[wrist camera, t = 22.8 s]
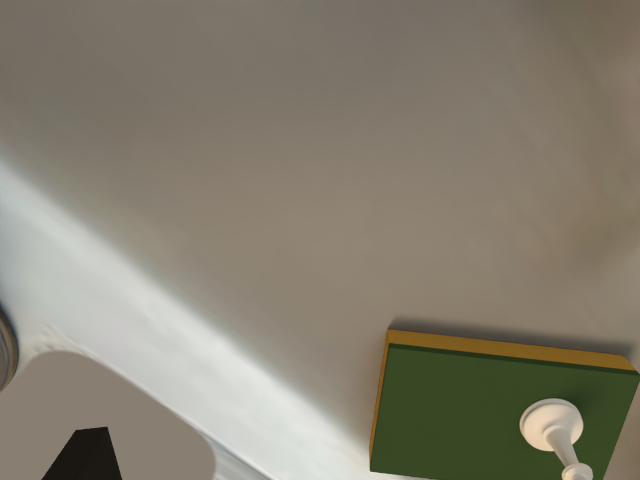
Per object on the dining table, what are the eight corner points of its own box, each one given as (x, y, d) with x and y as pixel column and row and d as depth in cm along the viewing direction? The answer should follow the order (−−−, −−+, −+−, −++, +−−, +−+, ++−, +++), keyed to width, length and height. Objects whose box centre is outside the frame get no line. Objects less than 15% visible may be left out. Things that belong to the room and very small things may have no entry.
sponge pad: (369, 447, 48) (369, 471, 45) (387, 328, 43) (389, 347, 41) (581, 472, 47) (595, 499, 44) (623, 354, 43) (641, 376, 40)
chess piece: (551, 387, 41) (609, 487, 31) (593, 420, 42) (662, 527, 32) (506, 424, 42) (549, 530, 33) (548, 455, 43) (601, 567, 34)
